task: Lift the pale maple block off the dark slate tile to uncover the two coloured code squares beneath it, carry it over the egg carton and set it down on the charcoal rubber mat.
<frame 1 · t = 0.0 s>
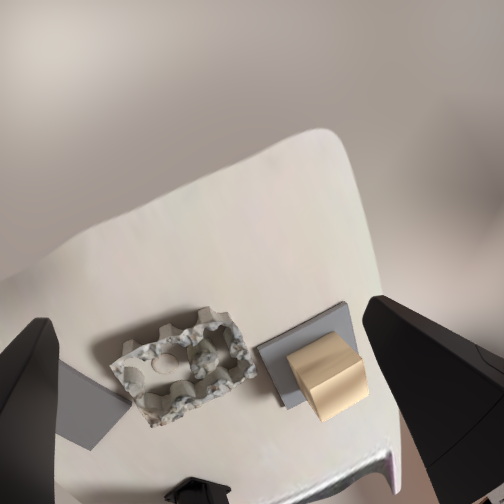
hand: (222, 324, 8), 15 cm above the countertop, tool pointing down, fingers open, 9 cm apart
charcoal mat: (69, 405, 24), on the countertop
code tile: (313, 358, 30), on the countertop
maple block: (316, 361, 29), point 1 cm above the countertop, touching code tile
egg carton: (181, 352, 26), on the countertop
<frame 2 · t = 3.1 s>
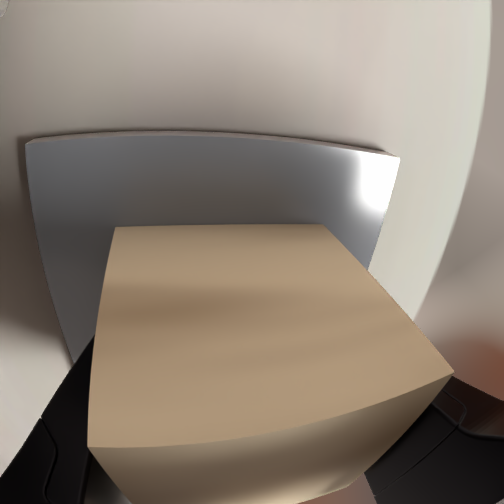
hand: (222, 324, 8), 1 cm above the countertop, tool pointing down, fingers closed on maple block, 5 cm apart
code tile: (214, 294, 9), on the countertop
maple block: (218, 309, 9), point 1 cm above the countertop, touching code tile, gripper
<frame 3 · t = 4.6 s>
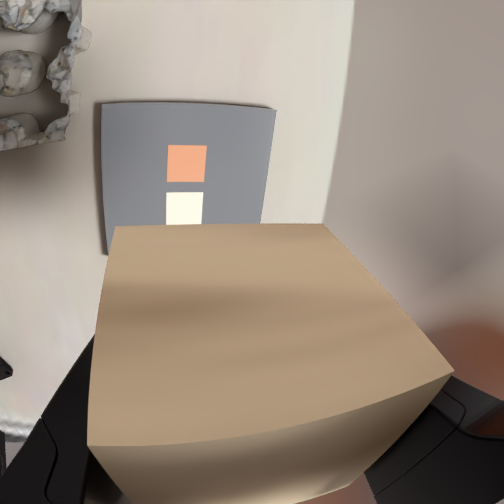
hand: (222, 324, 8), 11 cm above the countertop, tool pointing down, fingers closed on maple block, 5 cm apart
code tile: (184, 183, 17), on the countertop
maple block: (218, 308, 9), point 10 cm above the countertop, touching gripper
egg carton: (6, 72, 11), on the countertop
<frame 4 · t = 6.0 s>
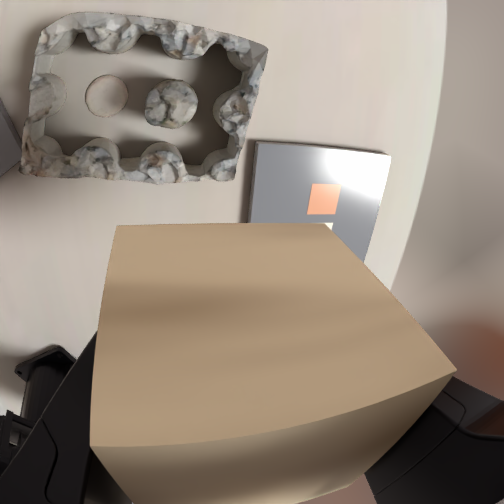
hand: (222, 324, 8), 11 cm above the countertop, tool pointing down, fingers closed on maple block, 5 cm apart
code tile: (316, 214, 20), on the countertop
maple block: (219, 308, 9), point 10 cm above the countertop, touching gripper
egg carton: (139, 94, 14), on the countertop
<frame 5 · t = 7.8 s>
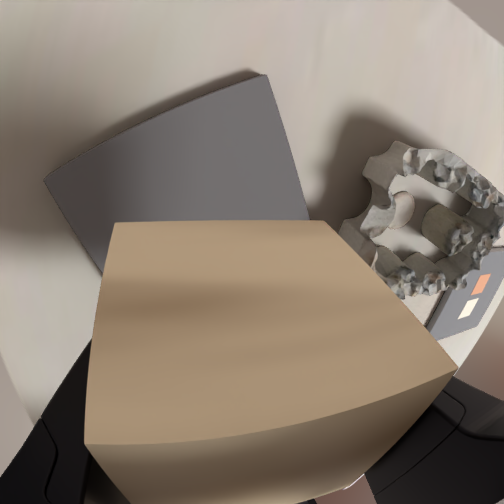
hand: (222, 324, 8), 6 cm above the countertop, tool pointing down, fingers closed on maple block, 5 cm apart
charcoal mat: (194, 218, 13), on the countertop
code tile: (470, 292, 23), on the countertop
maple block: (218, 306, 8), point 6 cm above the countertop, touching gripper
egg carton: (414, 210, 17), on the countertop
when the fingers open (2 cm above the countertop, at t = 9.3 s): maple block stays where it is, resting on charcoal mat.
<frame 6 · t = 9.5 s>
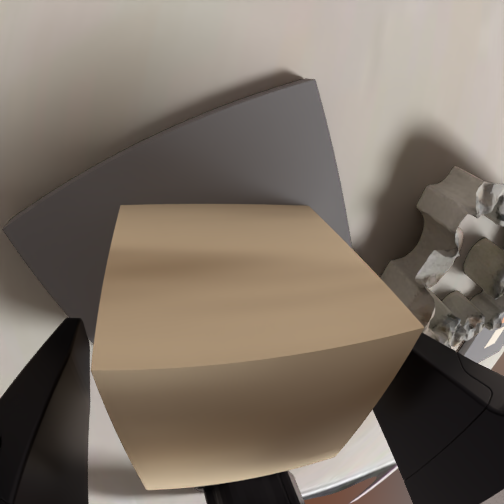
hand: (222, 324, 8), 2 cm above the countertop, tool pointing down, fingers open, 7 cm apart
charcoal mat: (208, 274, 10), on the countertop
code tile: (498, 320, 20), on the countertop
maple block: (212, 284, 9), point 1 cm above the countertop, touching charcoal mat
egg carton: (459, 245, 14), on the countertop
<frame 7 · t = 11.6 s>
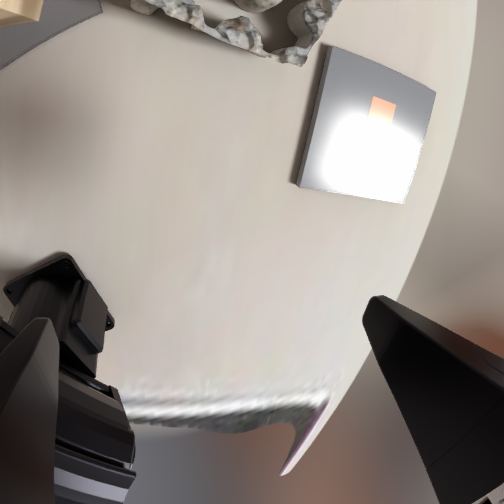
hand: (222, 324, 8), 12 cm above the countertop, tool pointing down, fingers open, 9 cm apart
code tile: (371, 131, 19), on the countertop
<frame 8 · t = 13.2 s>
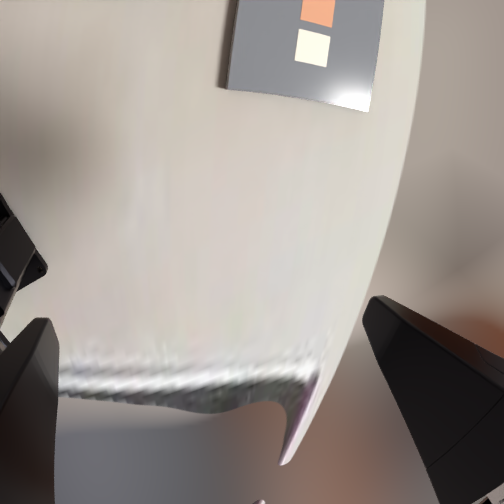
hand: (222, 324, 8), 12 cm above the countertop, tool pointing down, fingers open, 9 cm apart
code tile: (311, 29, 15), on the countertop
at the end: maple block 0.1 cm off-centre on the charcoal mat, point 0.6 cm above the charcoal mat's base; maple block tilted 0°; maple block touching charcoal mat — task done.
